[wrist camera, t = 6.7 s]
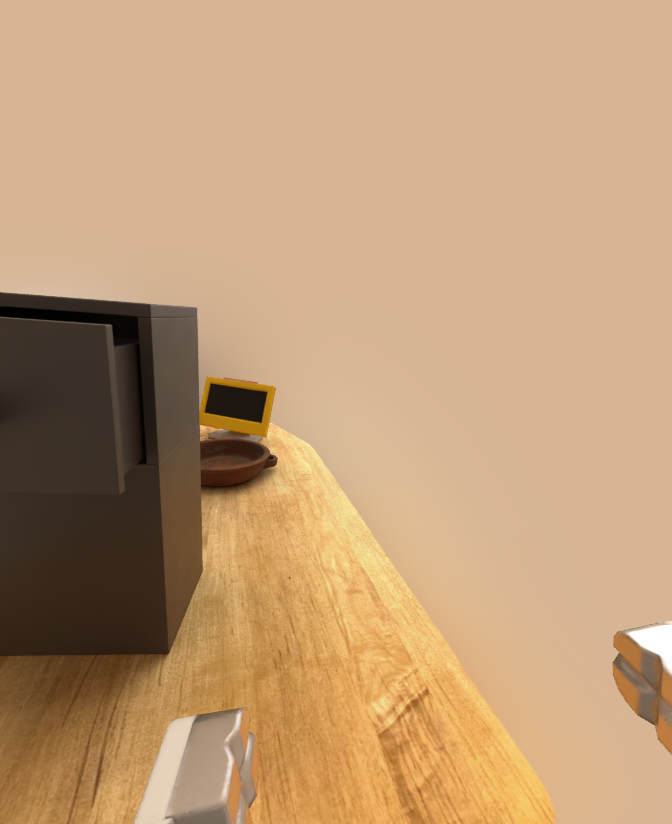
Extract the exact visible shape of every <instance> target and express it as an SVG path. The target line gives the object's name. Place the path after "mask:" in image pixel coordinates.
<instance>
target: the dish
mask: <svg viewBox="0 0 672 824" xmlns="http://www.w3.org/2000/svg"><path fill="white" fill-rule="evenodd" d="M276 464H277V457H276V456H275V455H271V454H270V451H269V449H268V448H266V447H265V446H263V445H261V444H259V443H257V442H254V441H250V440H245V439H237V438H223V439H212V440H205V441H200V470H201V484H202V485H207V486H230V485H236V484H240V483H243V482H245V481H247V480H249V479H251V478H253V477H255V476H256V475H257V474H258V473H259V472H260V471H261V470H262V469H265V468H269V467H273V466H275V465H276Z"/></svg>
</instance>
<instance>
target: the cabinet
mask: <svg viewBox="0 0 672 824" xmlns="http://www.w3.org/2000/svg"><path fill="white" fill-rule="evenodd" d="M0 317H9V318H23V319H37V320H51V321H64V322H78V323H92V324H106V325H112V332H113V337H126V338H139V346H140V362H141V379H142V395H143V411H144V427H145V443H146V457H145V458H144V459H142V460H141V461H140V462H139V463H138V464H137V465H136V466H134V467H133V468H132V469H131V470H130V471H129V472H128V473H126V474H125V475H124V482H125V491H124V492H122V493H121V494H120V495H94V494H59V493H24V492H0V656H3V655H89V654H168V653H169V652H170V649H171V647H172V644H173V642H174V639H175V637H176V634H177V632H178V630H179V627H180V625H181V622H182V620H183V617H184V615H185V612H186V610H187V607H188V605H189V603H190V600H191V598H192V595H193V593H194V590H195V588H196V585H197V583H198V580H199V578H200V576H201V573H202V571H203V565H202V518H201V470H200V424H199V379H198V332H197V331H198V329H197V308H196V307H195V308H194V307H183V306H182V307H181V306H169V305H157V304H145V303H132V302H118V301H106V300H94V299H81V298H68V297H55V296H42V295H29V294H17V293H2V292H0Z"/></svg>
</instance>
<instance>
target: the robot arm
mask: <svg viewBox="0 0 672 824" xmlns="http://www.w3.org/2000/svg"><path fill="white" fill-rule="evenodd" d="M613 646H614V647H615V648H616V649H617V650H618V651H619V652H620V653H619V654H618V656H617V657H616V659H615V660H614V661H613V676H614V679H615V682H616V684H617V687H618V689H619V691H620V693H621V694H622V696H623V697H624V699H625V700H626V702H627V703H628V704H629V706H630V707H631V708H632V709H633V710H634V712H635V713H636V714H637V715H638V716H640V717H641V718H643V719H645V720H647V721H648V722H650V723H652V724H653V725H655V728H656V732H657V736H658V740H659V741H660V742H661V743H662V744H663V745H664V746H665V748H666V749H667V750H668V751H669V752H670V753H671V754H672V621H668V622H663V623H655V624H650V625H646V626H641V627H637V628H632V629H628V630H623V631H618V632H617V633H616V635H615V636H614V644H613ZM250 720H251V719H250V715H249V712H248V709H247V707H243V708H237V709H231V710H225V711H219V712H213V713H207V714H201V715H196V716H190V717H185V718H180V719H174V720H172V722H171V723H170V725H169V726H168V728H167V730H166V732H165V735H164V738H163V741H162V743H161V746H160V749H159V752H158V755H157V758H156V760H155V763H154V766H153V769H152V772H151V775H150V777H149V780H148V783H147V786H146V789H145V792H144V794H143V797H142V800H141V803H140V806H139V809H138V811H137V814H136V817H135V820H134V823H133V824H253V822H252V818H251V815H250V811H249V808H250V807H251V805H252V803H253V801H254V800H255V798H256V796H257V789H258V778H259V756H258V747H257V742H256V738H255V735H254V734H252V733H251V732H250V731H249V727H250Z"/></svg>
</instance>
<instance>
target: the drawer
mask: <svg viewBox="0 0 672 824" xmlns="http://www.w3.org/2000/svg"><path fill="white" fill-rule="evenodd" d="M145 457H146V443H145V427H144V411H143V395H142V379H141V362H140V346H139V338H126V337H113V332H112V325H106V324H92V323H78V322H64V321H51V320H37V319H23V318H9V317H0V492H24V493H59V494H94V495H120V494H121V493H122V492H124V491H125V482H124V475H125V474H126V473H128V472H129V471H130V470H131V469H132V468H133V467H134V466H136V465H137V464H138V463H139V462H140V461H141V460H142V459H144V458H145Z"/></svg>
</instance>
